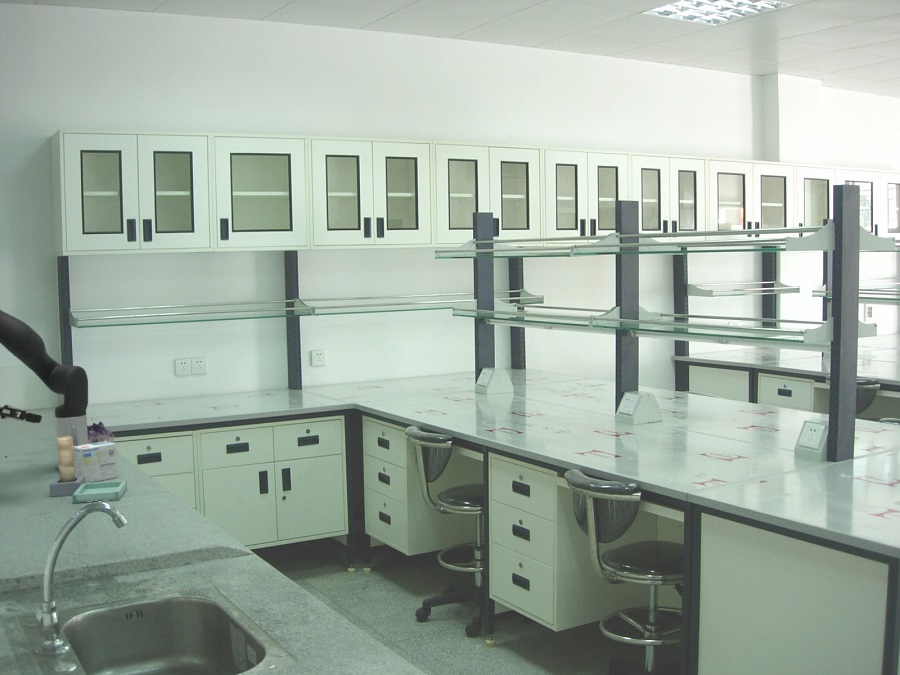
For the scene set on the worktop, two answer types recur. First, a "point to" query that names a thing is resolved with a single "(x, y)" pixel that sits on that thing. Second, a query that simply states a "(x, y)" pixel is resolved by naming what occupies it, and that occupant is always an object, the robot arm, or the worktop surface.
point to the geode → (99, 433)
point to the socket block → (65, 487)
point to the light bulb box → (95, 461)
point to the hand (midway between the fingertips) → (38, 419)
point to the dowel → (66, 459)
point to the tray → (100, 491)
